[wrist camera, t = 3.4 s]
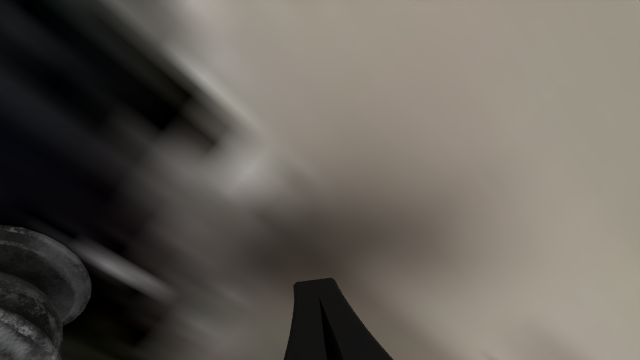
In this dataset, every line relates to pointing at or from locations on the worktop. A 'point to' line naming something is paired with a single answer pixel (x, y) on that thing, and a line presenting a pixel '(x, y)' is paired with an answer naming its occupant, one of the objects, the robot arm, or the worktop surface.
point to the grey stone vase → (37, 294)
